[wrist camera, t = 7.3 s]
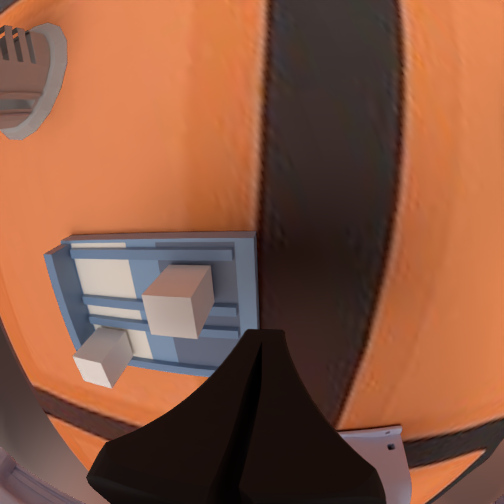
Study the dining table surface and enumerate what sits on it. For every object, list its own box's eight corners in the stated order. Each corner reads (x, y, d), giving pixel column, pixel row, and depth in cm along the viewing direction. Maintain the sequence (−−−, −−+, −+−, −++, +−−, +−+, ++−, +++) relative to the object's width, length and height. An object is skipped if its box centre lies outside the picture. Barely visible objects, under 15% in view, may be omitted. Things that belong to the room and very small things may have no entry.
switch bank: (256, 231, 16) (248, 251, 13) (261, 368, 20) (256, 402, 17) (71, 235, 18) (41, 251, 15) (104, 350, 21) (86, 374, 18)
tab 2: (210, 265, 15) (190, 297, 12) (214, 301, 16) (197, 338, 13) (169, 264, 16) (141, 295, 12) (174, 299, 16) (151, 334, 13)
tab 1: (125, 331, 18) (100, 363, 15) (133, 355, 19) (112, 388, 16) (98, 327, 18) (72, 356, 15) (107, 351, 19) (84, 380, 16)
